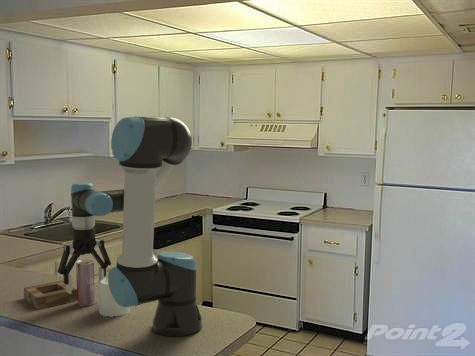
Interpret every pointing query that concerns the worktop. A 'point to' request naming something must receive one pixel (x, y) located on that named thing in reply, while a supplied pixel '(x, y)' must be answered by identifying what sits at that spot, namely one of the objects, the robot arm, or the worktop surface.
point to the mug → (109, 301)
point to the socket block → (49, 294)
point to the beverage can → (85, 282)
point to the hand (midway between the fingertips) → (85, 289)
